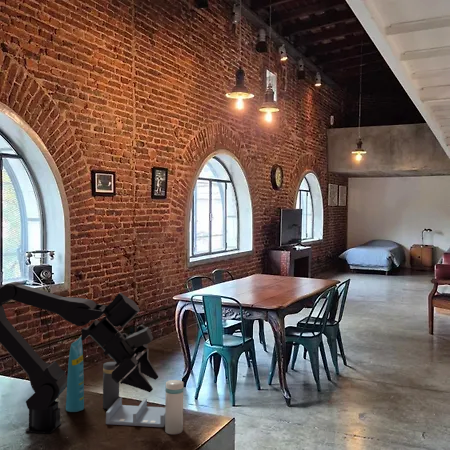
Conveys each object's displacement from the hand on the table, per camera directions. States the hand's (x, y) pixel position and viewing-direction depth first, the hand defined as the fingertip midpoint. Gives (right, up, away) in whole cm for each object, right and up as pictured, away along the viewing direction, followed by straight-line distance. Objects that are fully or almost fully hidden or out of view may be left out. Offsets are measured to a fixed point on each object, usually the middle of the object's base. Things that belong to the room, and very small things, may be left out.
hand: (154, 384), depth 124 cm
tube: (-24, -11, +13) cm, 29 cm away
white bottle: (+5, -12, 0) cm, 13 cm away
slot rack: (-5, -11, +8) cm, 15 cm away
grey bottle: (-14, -11, +15) cm, 23 cm away
